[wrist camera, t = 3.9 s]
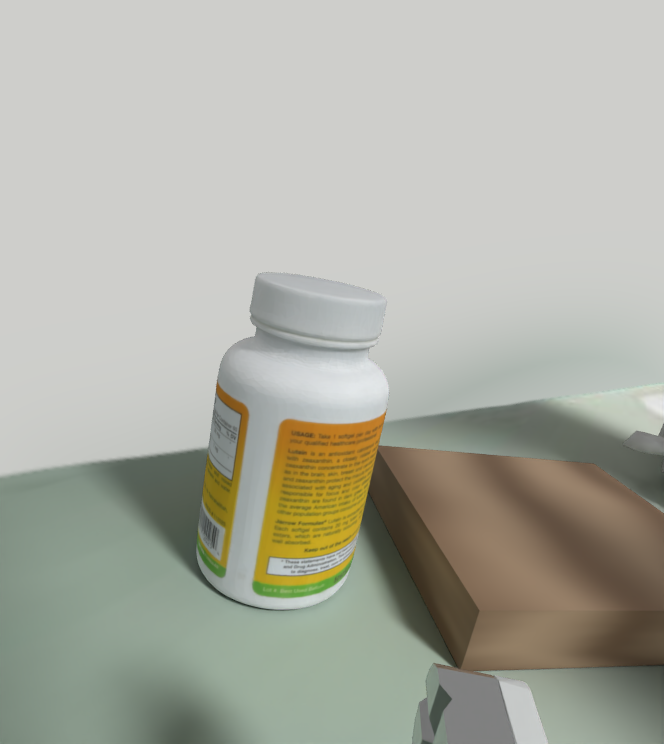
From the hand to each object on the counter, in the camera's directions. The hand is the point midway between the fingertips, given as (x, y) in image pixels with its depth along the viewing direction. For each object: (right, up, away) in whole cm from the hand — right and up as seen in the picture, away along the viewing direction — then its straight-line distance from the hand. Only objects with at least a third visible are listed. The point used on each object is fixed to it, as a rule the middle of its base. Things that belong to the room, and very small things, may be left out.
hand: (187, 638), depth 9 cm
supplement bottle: (0, -3, +13) cm, 13 cm away
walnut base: (+12, -5, +16) cm, 21 cm away
